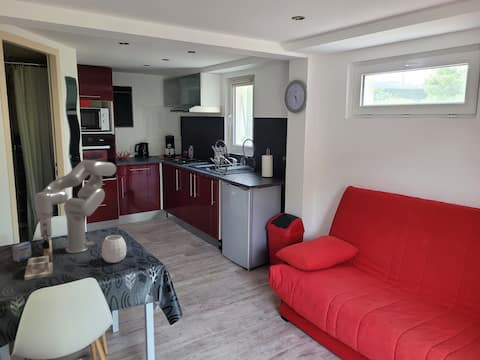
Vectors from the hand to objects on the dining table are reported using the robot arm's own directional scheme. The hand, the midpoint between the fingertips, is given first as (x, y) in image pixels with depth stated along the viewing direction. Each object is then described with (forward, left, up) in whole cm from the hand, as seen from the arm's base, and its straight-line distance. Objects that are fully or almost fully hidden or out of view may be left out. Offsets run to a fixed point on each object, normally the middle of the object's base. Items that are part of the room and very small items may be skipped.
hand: (46, 245), depth 192 cm
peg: (-1, 0, -10) cm, 10 cm away
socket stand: (+3, +12, -10) cm, 16 cm away
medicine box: (+12, -10, -10) cm, 19 cm away
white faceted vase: (-34, +11, -10) cm, 36 cm away
